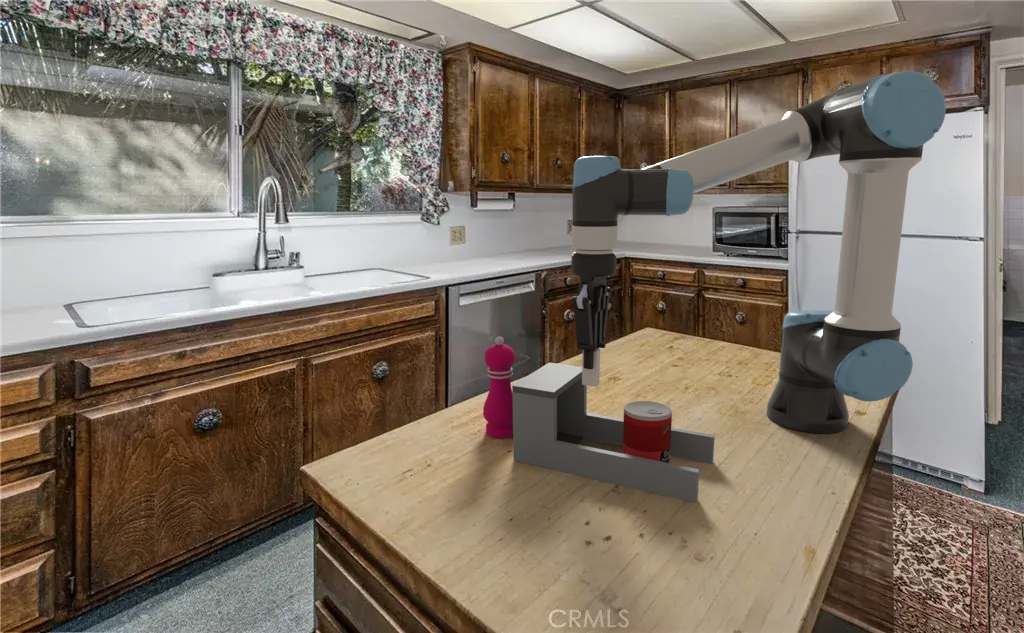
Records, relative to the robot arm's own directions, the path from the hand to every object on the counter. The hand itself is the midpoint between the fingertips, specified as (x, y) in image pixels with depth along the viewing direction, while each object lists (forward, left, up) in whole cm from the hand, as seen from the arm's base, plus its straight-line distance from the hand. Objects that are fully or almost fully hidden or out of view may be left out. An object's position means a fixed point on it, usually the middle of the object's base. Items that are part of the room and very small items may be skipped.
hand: (590, 384), depth 100 cm
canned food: (-10, 0, -14) cm, 17 cm away
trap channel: (-5, 0, -14) cm, 15 cm away
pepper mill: (+20, -2, -14) cm, 24 cm away
